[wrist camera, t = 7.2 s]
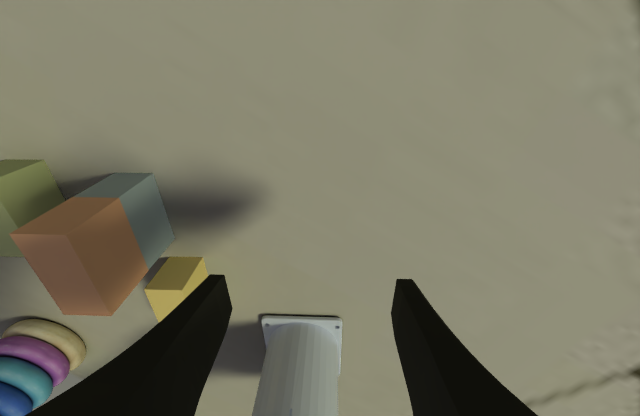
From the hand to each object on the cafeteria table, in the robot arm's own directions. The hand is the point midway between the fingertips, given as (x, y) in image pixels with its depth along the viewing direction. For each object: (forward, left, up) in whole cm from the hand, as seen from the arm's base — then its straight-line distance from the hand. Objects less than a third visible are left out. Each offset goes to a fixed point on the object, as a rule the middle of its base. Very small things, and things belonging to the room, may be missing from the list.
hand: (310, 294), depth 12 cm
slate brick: (-2, +14, -10) cm, 18 cm away
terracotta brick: (-2, +14, -6) cm, 15 cm away
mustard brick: (-10, +12, -11) cm, 19 cm away
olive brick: (-1, +22, -11) cm, 24 cm away
